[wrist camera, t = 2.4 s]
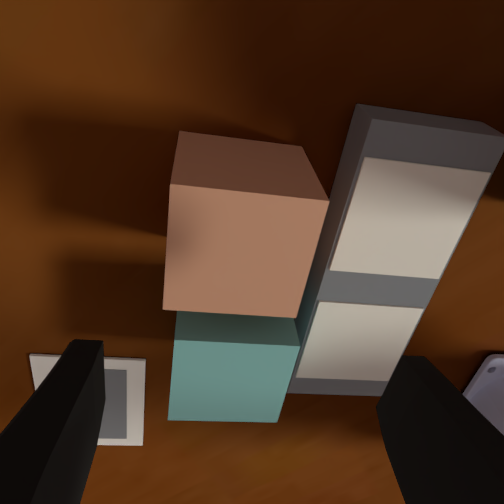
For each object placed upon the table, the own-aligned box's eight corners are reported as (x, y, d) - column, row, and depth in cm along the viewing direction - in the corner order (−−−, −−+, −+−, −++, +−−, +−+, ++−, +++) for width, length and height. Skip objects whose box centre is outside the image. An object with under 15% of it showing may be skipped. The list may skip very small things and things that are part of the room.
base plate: (370, 368, 26) (382, 397, 24) (281, 364, 25) (287, 394, 23) (482, 121, 18) (512, 139, 16) (356, 103, 17) (373, 119, 15)
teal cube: (265, 343, 24) (276, 422, 20) (174, 339, 23) (167, 420, 19) (282, 272, 21) (300, 346, 17) (181, 264, 21) (174, 340, 16)
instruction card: (142, 443, 28) (142, 446, 28) (45, 441, 27) (44, 445, 27) (145, 358, 24) (145, 362, 24) (30, 353, 23) (28, 357, 23)
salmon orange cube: (278, 246, 20) (296, 317, 16) (172, 236, 20) (162, 309, 16) (301, 145, 18) (329, 201, 14) (179, 130, 17) (170, 183, 13)
